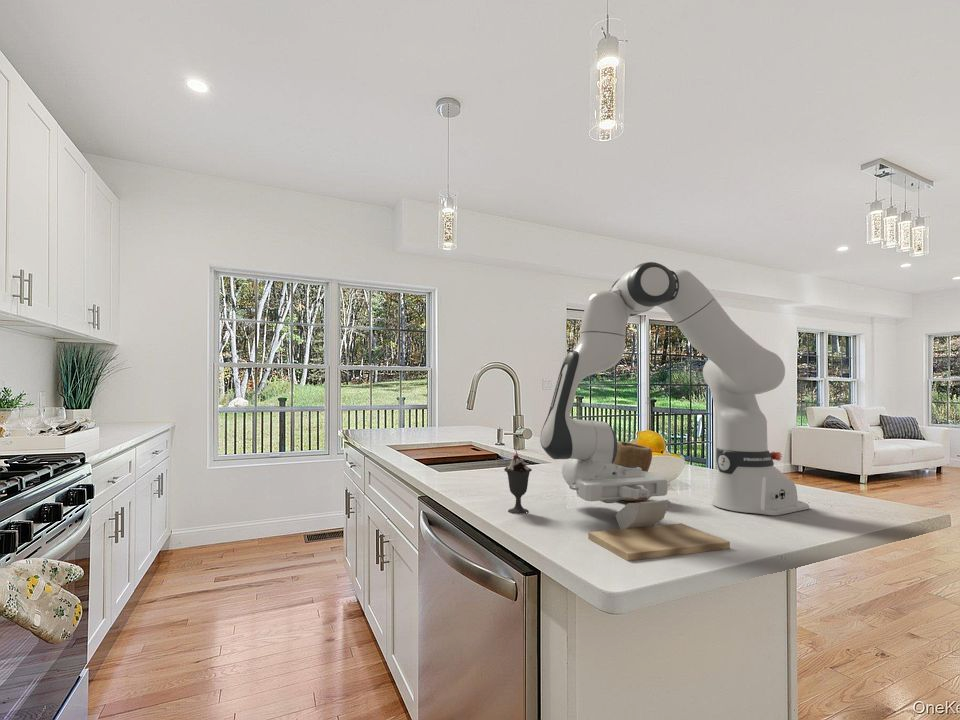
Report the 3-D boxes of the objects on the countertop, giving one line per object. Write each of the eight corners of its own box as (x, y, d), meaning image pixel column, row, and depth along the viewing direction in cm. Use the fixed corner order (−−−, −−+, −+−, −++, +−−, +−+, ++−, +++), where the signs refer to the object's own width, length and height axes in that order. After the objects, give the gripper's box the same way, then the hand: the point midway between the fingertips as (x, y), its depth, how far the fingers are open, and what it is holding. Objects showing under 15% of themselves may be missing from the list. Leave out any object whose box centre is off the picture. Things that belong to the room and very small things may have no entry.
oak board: (681, 529, 109) (680, 523, 109) (730, 548, 96) (729, 541, 96) (588, 538, 102) (588, 532, 102) (627, 560, 89) (627, 553, 90)
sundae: (513, 506, 129) (513, 446, 129) (537, 510, 125) (537, 448, 125) (498, 512, 123) (498, 448, 124) (523, 516, 119) (522, 450, 120)
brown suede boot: (662, 502, 134) (661, 443, 135) (624, 506, 130) (623, 445, 130) (626, 490, 148) (625, 438, 149) (590, 493, 144) (590, 439, 145)
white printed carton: (649, 529, 109) (674, 509, 101) (621, 532, 106) (644, 512, 99) (642, 512, 111) (666, 492, 103) (615, 515, 109) (637, 494, 101)
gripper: (565, 470, 115) (598, 482, 102) (644, 466, 122) (684, 476, 108) (565, 499, 115) (598, 514, 102) (644, 493, 121) (684, 506, 108)
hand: (643, 494), depth 105 cm, fingers closed
